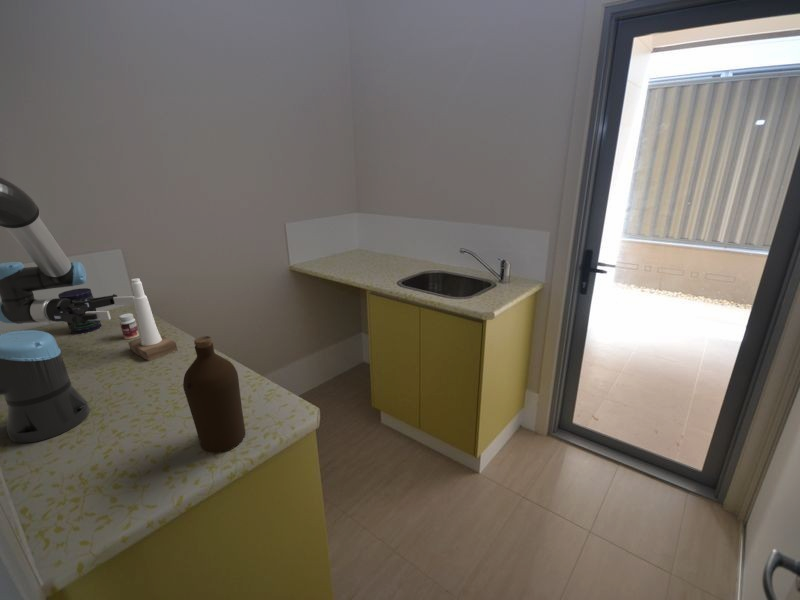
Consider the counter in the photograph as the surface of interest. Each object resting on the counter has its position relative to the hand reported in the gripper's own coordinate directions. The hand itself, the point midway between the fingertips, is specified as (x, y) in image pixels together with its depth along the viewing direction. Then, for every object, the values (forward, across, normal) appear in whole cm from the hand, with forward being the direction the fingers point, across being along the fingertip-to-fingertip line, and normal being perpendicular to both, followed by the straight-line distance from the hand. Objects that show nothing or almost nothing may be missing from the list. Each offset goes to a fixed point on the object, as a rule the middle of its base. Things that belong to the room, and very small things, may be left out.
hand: (122, 307), depth 127 cm
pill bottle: (-8, -12, -16) cm, 22 cm away
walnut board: (+7, 0, -16) cm, 17 cm away
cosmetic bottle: (+6, 0, -13) cm, 14 cm away
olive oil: (+47, +49, -16) cm, 69 cm away
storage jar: (-30, -21, -16) cm, 40 cm away
